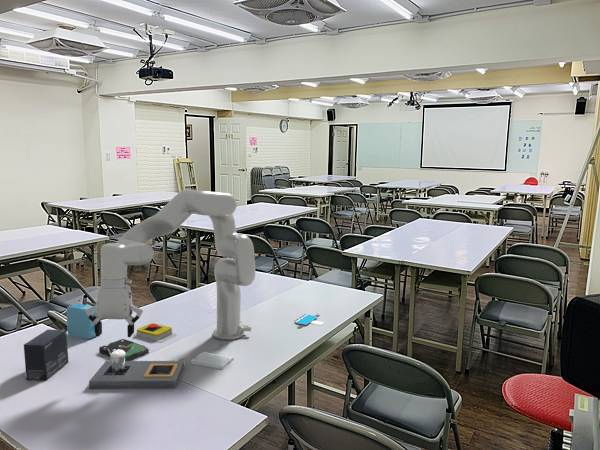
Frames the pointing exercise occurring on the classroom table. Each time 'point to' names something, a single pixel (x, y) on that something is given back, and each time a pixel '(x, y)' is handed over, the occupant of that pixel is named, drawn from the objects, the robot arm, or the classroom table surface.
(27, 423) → the classroom table surface
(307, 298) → the classroom table surface
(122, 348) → the disk drive
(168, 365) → the grey sorting tray
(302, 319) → the phone stand
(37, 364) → the small box
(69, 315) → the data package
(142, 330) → the emergency button
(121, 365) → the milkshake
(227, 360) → the hard drive
